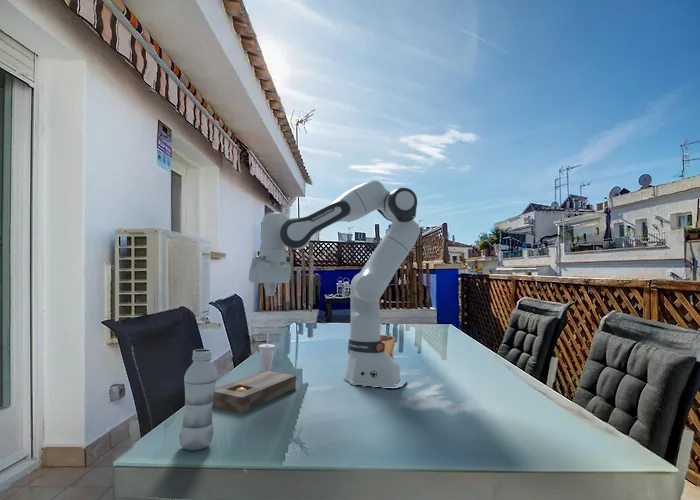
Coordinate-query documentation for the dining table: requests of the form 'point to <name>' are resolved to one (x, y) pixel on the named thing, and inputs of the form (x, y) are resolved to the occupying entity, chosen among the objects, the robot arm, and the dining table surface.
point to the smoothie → (266, 355)
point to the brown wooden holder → (252, 391)
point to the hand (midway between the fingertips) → (269, 295)
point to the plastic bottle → (198, 402)
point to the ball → (241, 389)
